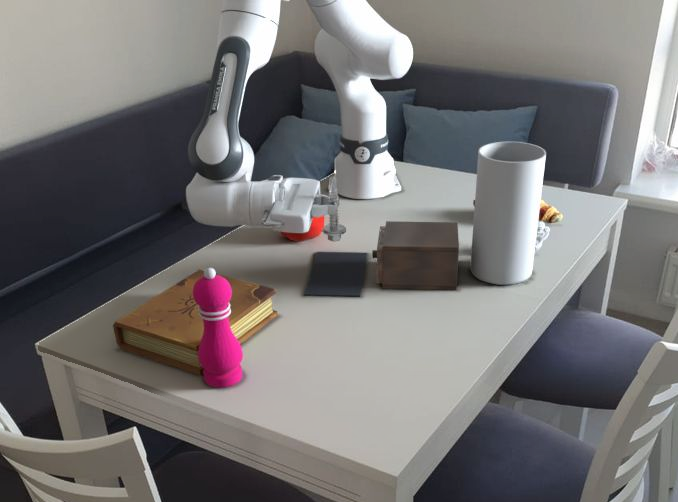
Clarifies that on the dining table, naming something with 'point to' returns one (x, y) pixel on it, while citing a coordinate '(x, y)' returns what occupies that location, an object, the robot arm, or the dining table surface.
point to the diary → (189, 322)
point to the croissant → (546, 213)
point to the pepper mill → (217, 331)
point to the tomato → (312, 233)
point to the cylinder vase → (506, 211)
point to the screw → (333, 216)
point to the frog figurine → (541, 234)
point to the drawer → (379, 255)
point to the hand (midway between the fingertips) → (338, 205)
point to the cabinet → (420, 255)
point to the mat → (337, 274)
